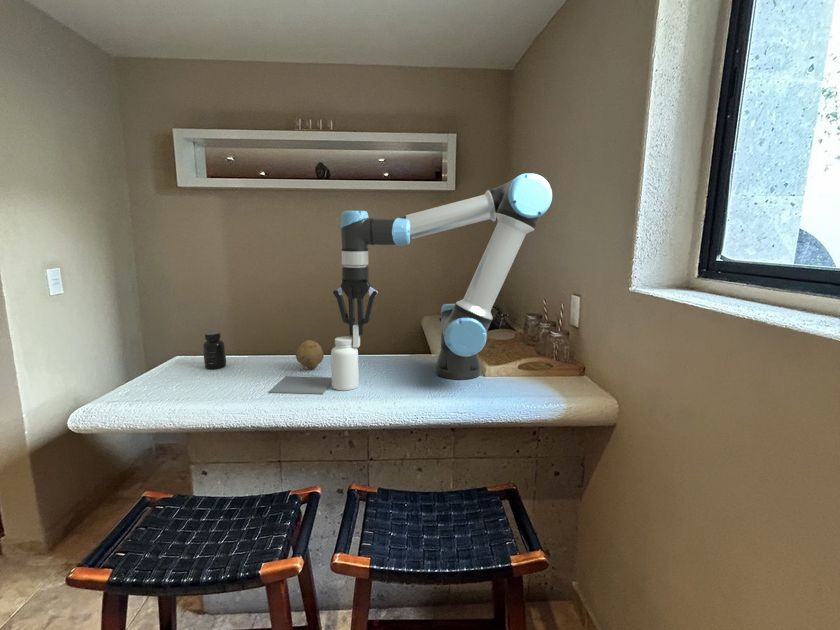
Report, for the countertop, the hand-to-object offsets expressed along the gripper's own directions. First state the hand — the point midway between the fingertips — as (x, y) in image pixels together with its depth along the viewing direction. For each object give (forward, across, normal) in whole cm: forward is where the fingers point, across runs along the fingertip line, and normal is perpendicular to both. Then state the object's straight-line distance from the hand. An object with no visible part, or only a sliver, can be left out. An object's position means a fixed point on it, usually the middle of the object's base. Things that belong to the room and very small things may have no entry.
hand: (356, 346), depth 133 cm
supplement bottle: (+13, +53, -16) cm, 57 cm away
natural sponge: (+13, +20, -16) cm, 29 cm away
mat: (+13, +17, 0) cm, 21 cm away
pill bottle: (+13, +4, 0) cm, 13 cm away
